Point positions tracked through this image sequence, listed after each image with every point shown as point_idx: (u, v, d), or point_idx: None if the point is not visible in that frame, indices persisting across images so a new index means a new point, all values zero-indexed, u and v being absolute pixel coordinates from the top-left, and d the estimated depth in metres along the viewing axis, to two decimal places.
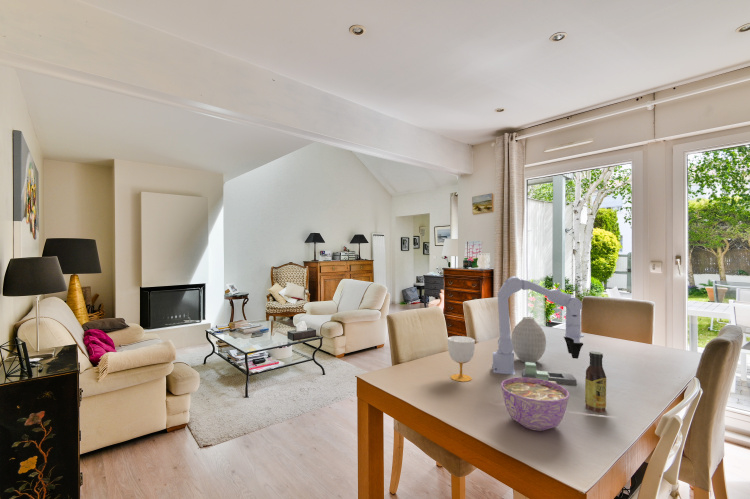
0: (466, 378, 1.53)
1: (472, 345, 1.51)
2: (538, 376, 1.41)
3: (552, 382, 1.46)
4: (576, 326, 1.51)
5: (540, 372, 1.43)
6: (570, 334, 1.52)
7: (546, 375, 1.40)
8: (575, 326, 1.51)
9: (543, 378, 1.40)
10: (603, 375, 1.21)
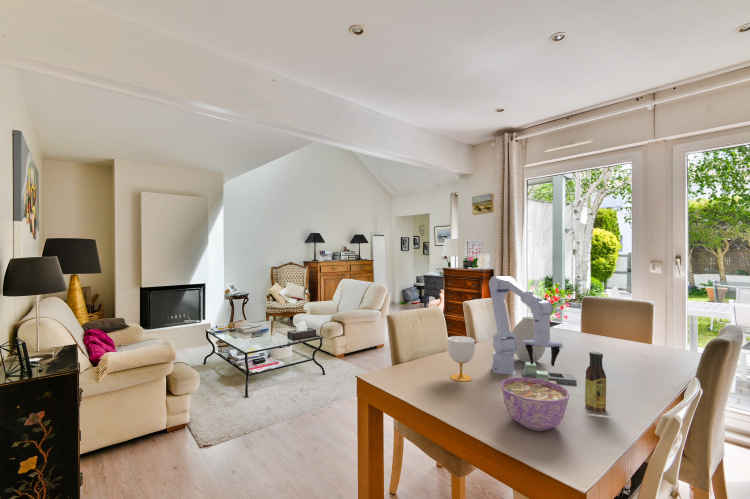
0: (466, 378, 1.53)
1: (472, 345, 1.51)
2: (538, 376, 1.41)
3: (552, 382, 1.46)
4: (534, 331, 1.43)
5: (540, 372, 1.43)
6: None
7: (546, 375, 1.40)
8: (534, 331, 1.43)
9: (543, 378, 1.40)
10: (603, 375, 1.21)
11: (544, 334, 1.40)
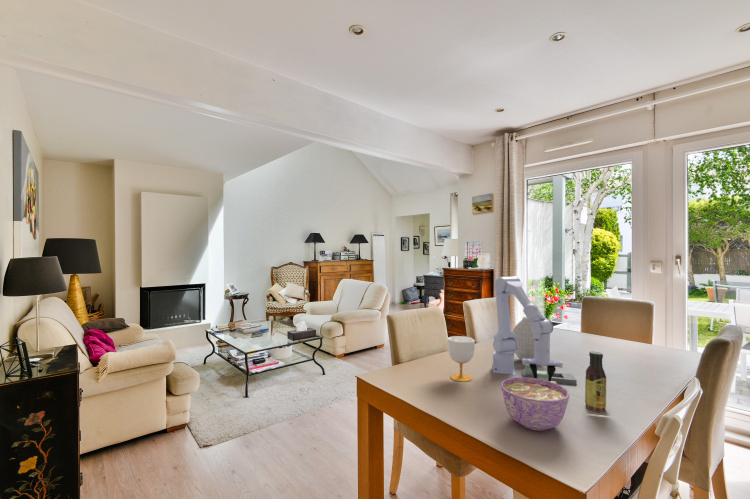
0: (466, 378, 1.53)
1: (472, 345, 1.51)
2: (538, 376, 1.41)
3: (552, 382, 1.46)
4: (535, 350, 1.43)
5: (540, 372, 1.43)
6: None
7: (546, 375, 1.40)
8: (534, 350, 1.43)
9: (543, 378, 1.40)
10: (603, 375, 1.21)
11: (544, 353, 1.40)
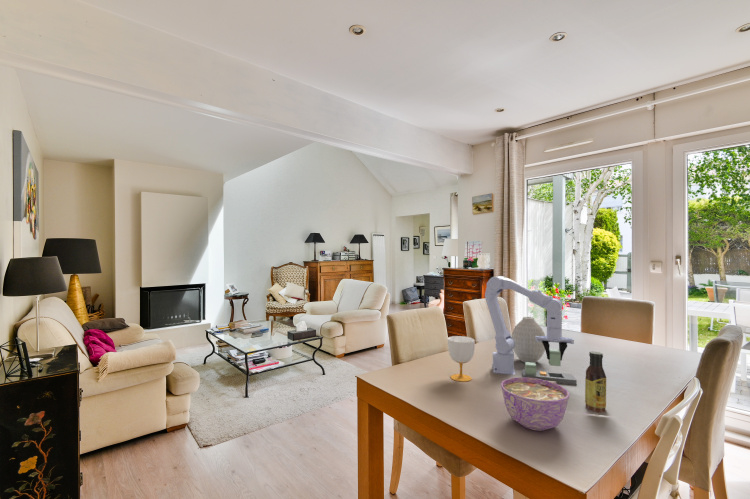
0: (466, 378, 1.53)
1: (472, 345, 1.51)
2: (551, 354, 1.48)
3: (552, 382, 1.46)
4: (547, 327, 1.50)
5: (552, 350, 1.50)
6: None
7: (558, 352, 1.48)
8: (547, 327, 1.51)
9: (555, 355, 1.48)
10: (603, 375, 1.21)
11: (556, 330, 1.48)
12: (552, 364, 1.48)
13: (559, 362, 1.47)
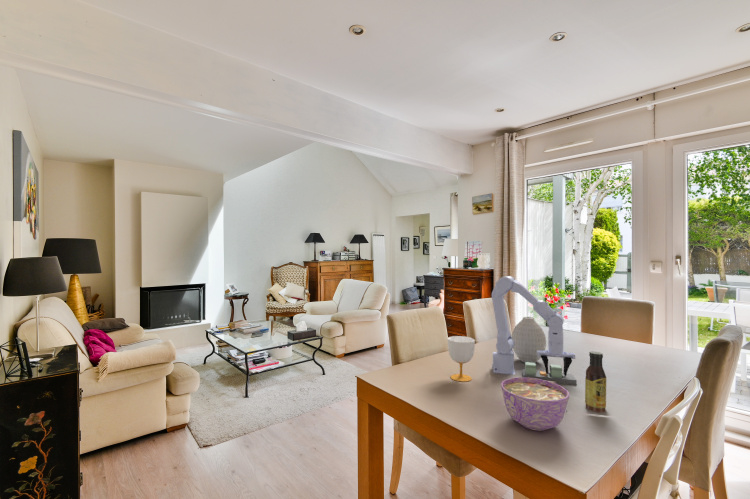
0: (466, 378, 1.53)
1: (472, 345, 1.51)
2: (553, 370, 1.49)
3: (552, 382, 1.46)
4: (549, 342, 1.51)
5: (554, 366, 1.51)
6: None
7: (560, 368, 1.49)
8: (548, 342, 1.52)
9: (557, 371, 1.49)
10: (603, 375, 1.21)
11: (558, 345, 1.49)
12: None
13: None
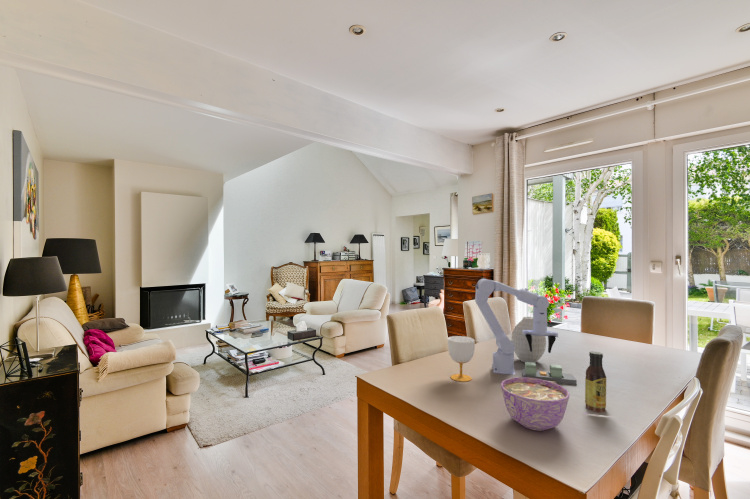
0: (466, 378, 1.53)
1: (472, 345, 1.51)
2: (553, 370, 1.49)
3: (552, 382, 1.46)
4: (533, 322, 1.61)
5: (554, 366, 1.51)
6: None
7: (560, 368, 1.49)
8: (533, 322, 1.62)
9: (557, 371, 1.49)
10: (603, 375, 1.21)
11: (542, 324, 1.58)
12: None
13: None
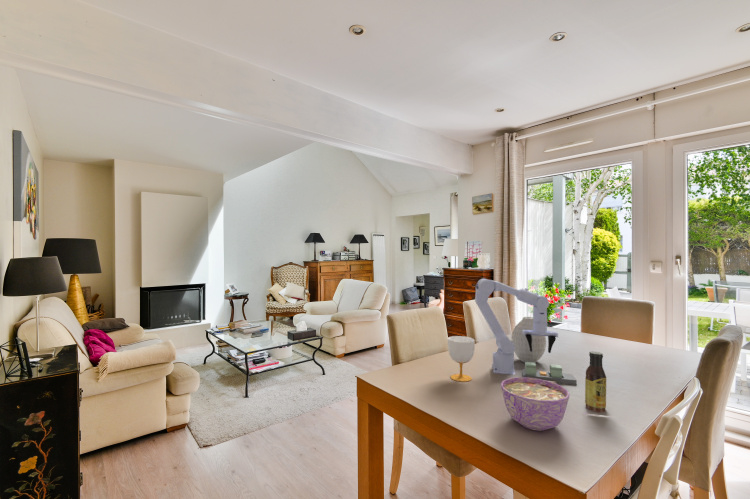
0: (466, 378, 1.53)
1: (472, 345, 1.51)
2: (553, 370, 1.49)
3: (552, 382, 1.46)
4: (533, 322, 1.61)
5: (554, 366, 1.51)
6: None
7: (560, 368, 1.49)
8: (533, 322, 1.62)
9: (557, 371, 1.49)
10: (603, 375, 1.21)
11: (542, 324, 1.58)
12: None
13: None
